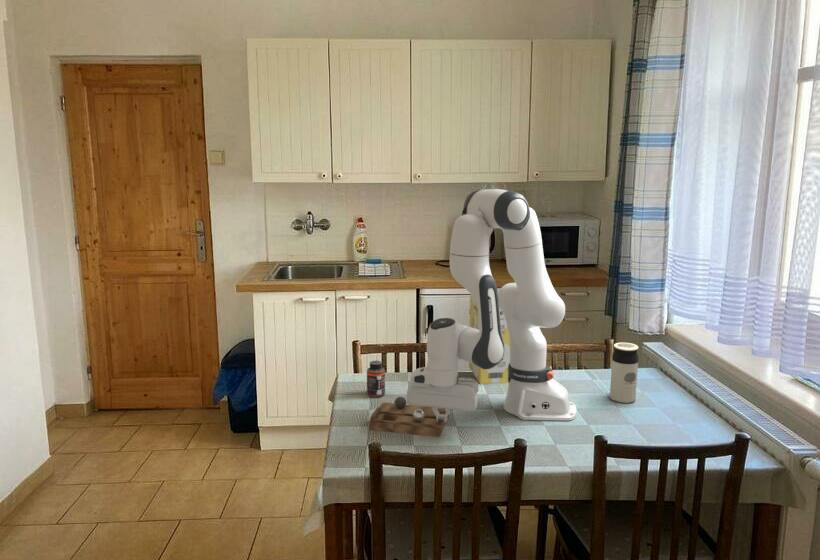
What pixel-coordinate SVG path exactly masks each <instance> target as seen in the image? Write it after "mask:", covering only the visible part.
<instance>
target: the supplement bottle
mask: <svg viewBox="0 0 820 560" xmlns="http://www.w3.org/2000/svg"><path fill="white" fill-rule="evenodd" d="M366 393H367V395H368V397H369V398H382V397H383V396H385V394H386V370H385V368H384V367H383V362H382V361H381V360H371V361H369V367H368V368H367V370H366Z"/></svg>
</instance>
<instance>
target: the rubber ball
mask: <svg viewBox="0 0 820 560" xmlns="http://www.w3.org/2000/svg"><path fill="white" fill-rule="evenodd" d="M394 403H395V405H396V407H397V408H404V407H405V405H407V399H405V398H404V397H403V396H398V397H396V398H395V400H394Z"/></svg>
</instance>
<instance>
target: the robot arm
mask: <svg viewBox="0 0 820 560" xmlns="http://www.w3.org/2000/svg"><path fill="white" fill-rule="evenodd" d="M494 229H501V231H502V234H503V246H504V253H505V260H506V261H505V262H506V269H507V272H508V274H509V275H510V276H511V278H512V279H513V281H514V282H509V283H506V284H504V285H503V286H502V287H501V288H500V289H499V290H498V287H497V286H498V285H497V282H496V280H495V278H494V277H493V275H492V270H491V267H490V238H491V235H492V233H493V231H494ZM543 247H544V246H543V239H542V231H541V227H540V223H539V219H538V216H537V213H536V211H535V209H533V208H532V207H530V205H529V202H528V201H527V199H526V198H525V196H524V195H522V194H521V193H519V192H517V191H514V190H507V189H502V188H491V189H486V188H480V189H476V190H474V191H472V192H470V193H469V194H468V195H467V197H466V198H465V200H464V204H463V208H462V211H461V215H460V216H459V217H457V218H456V220H455V221H454V223H453V227H452V232H451V238H450V246H449V270H450V274H451V276H452V277H453V279H454V280H455V281H456V282H457V283H458V284H459V285H460V286H462V287H463V288H464V289H466V290H467V291H468V292H469V293H471V294H472V296H473V297H474V298H475V300H476V303H477V307H478V319H479V330H478V329H475V328H473V327H470V325H466V324H463V323H462V324H461V323H459V322H457V321H456V320H455V319H454V318H450V317H443V318H442V317H441V318H437V319H435V320H434V321H432V322H431V323H430V324H429V327H428V329H427V337H426V354H427V362H426V366H424V367H419V368H415V369H414V371H412V373H411V374H410V378H409V379H410V383H409V384H408V386H407V391H406V404H407V405H415V406H426V407H432V410H433V412H434V414H435V415H436V421H437V422H446V423H447V422H448V420H447V416H448V414H449V415H450V413H451V410H459V411H469V412H473V411H475V410H476V409H477V408H478V392H479V381H478V380H477V379H474V378H473V377H464V376H458V375H459V365H458V364H459V363H458V361H459V360H464V361H466V362H468V363H469V362H471V363H473V364H475V365H477V366H479V367H480V368H482V369H491V368H493V367H495V366H496V365H497V364H498V363H499V362H500V361H501V360H502V358H503V356H504V342H503V338H502V334H501V328H500V315H499V307H500V309H501V310H502V312H503V314H504V317H505V320H506V324H507V327H508V332H509V337H510V363H509V365H508V382H509V383H507V384H508V385H507V391H506V396H505V399H504V402H503V405H502V407H503V409H504V410H505V411H506V412H507V413H509V414H511V415H513V416H517V417H518V418H519V419H520V420H522V421H563V422H564V421H566V422H567V421H572V420H574V419H575V418H576V417H577V414H578V412H577V406H576V404H575V403H574V402H572V401H571V398H570V394H569V392H568V390H567V388H566V387H565V386H563V385H562V384H561V383H559V382H558V381H557V380H556V379H554V374H555V373H554V372H553V368H552V367H553V366H552V365H550V366H549V365H547V353H548V352H547V347H548V346H547V345H548V344H547V340H546V338H545V336H544V335H543V332H542V330H541V328H543V329H544V328H545V329H552V328H555V327H558V326H559V325H561V323H562V322H563V319H564V318H565V314H566V304H565V302H564V301H563V299H562V298H561V297H560V296H559V294H558V293H557V291H556V289H555V287H554V286H553V284H552V281H551V278H550V277H549V274H548V271H547V267H546V264H545V263H546V262H545V256H544V248H543ZM438 408H445V412H446V414H439V412H438Z"/></svg>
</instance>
